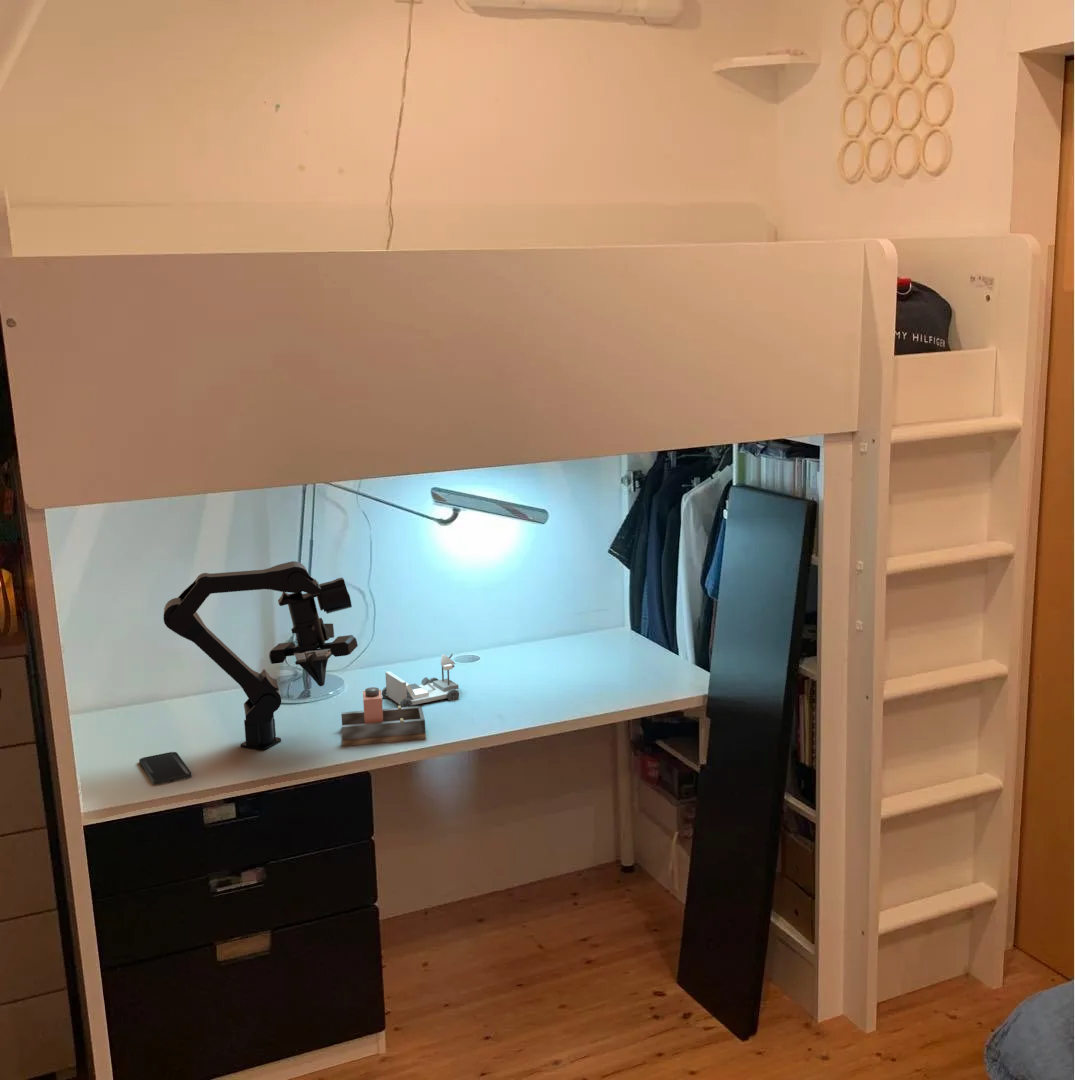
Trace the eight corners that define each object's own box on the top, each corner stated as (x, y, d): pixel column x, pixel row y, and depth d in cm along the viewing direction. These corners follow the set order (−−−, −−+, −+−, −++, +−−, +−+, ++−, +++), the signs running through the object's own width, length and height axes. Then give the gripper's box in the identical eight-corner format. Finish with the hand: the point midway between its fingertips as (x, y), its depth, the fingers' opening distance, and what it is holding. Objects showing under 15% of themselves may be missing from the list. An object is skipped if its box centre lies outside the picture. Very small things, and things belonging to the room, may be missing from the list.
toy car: (446, 648, 288) (467, 659, 278) (448, 685, 290) (469, 698, 280) (379, 660, 279) (399, 672, 269) (381, 699, 281) (401, 712, 271)
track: (342, 745, 250) (341, 726, 249) (342, 728, 261) (341, 709, 260) (425, 738, 253) (425, 719, 252) (421, 721, 264) (421, 703, 263)
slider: (365, 734, 253) (363, 694, 251) (364, 725, 259) (362, 685, 257) (383, 732, 254) (381, 693, 252) (382, 723, 260) (380, 684, 258)
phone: (175, 751, 248) (192, 774, 235) (176, 756, 248) (193, 779, 235) (137, 758, 244) (152, 782, 231) (138, 763, 244) (153, 787, 231)
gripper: (358, 602, 255) (373, 667, 259) (281, 611, 260) (297, 675, 264) (340, 619, 245) (356, 686, 249) (260, 628, 249) (277, 695, 253)
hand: (322, 685), depth 254 cm, fingers closed
